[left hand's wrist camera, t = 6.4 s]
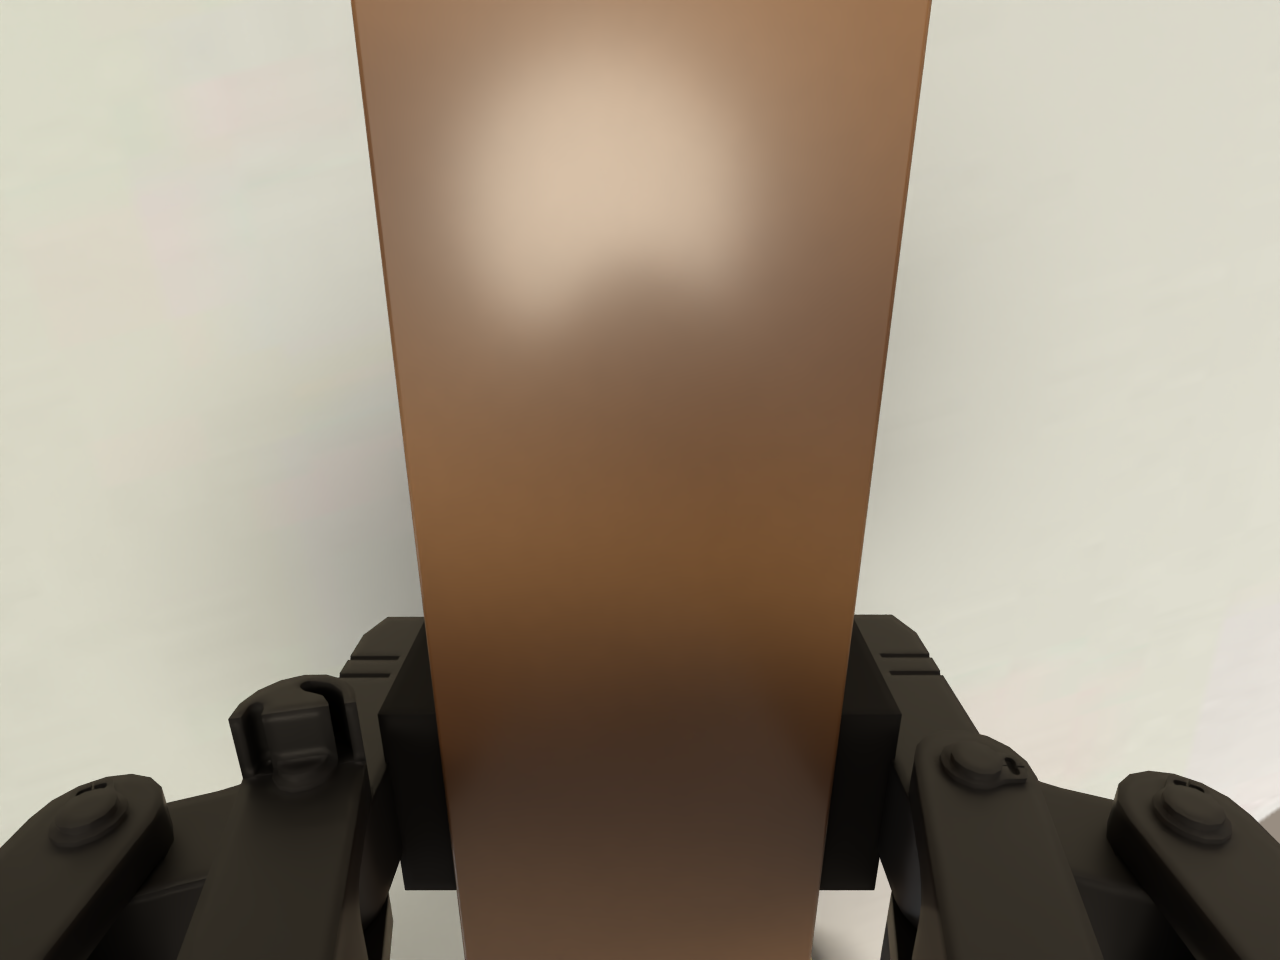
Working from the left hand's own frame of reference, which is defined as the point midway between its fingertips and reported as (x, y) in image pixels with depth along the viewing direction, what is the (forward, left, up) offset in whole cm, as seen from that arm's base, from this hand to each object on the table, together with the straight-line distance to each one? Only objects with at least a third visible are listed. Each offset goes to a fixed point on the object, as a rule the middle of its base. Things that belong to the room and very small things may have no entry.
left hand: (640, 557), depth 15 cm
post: (+20, +15, -1) cm, 25 cm away
